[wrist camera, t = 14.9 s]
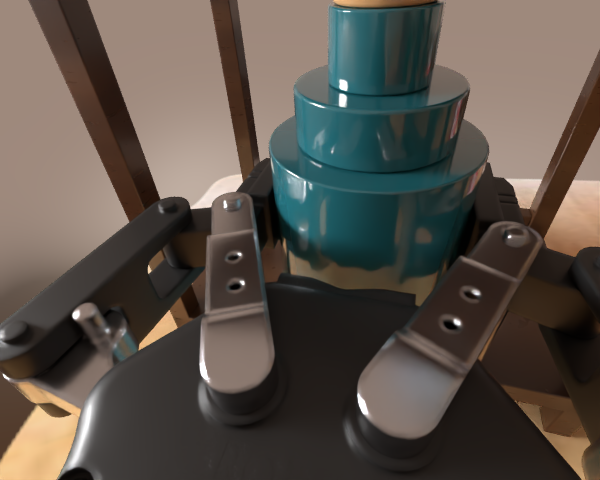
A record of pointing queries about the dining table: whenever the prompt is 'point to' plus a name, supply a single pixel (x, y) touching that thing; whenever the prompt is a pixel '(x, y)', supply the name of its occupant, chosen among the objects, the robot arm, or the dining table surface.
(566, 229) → the dining table surface
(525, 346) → the rack
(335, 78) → the bottle
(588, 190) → the dining table surface
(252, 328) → the robot arm
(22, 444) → the dining table surface
